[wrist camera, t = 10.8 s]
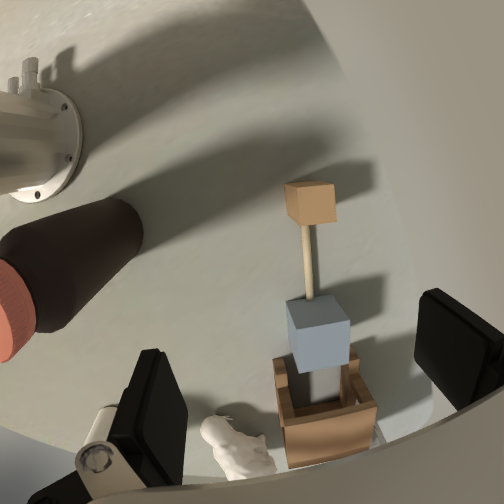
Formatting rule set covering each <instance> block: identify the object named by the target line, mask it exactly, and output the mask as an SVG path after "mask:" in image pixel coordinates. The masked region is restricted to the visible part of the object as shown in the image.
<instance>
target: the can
mask: <svg viewBox="0 0 504 504" xmlns="http://www.w3.org/2000/svg"><path fill="white" fill-rule="evenodd" d="M117 408H118V407H105V408H103V409H101V410H100V411H99V413H98V415H97V417H96V419H95V421H94V423H93V425H92V428H91V430H90V432H89V434H88V436H87V439H86V441H85V443H84V446H85V445H87V444H89V443H91V442H94V441H106V440H107V437H108V434H109V431H110V428H111V425H112V422H113V419H114V416H115V413H116V411H117ZM84 446H83V447H84ZM76 470H77V469H76Z"/></svg>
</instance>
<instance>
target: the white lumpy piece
mask: <svg viewBox="0 0 504 504" xmlns="http://www.w3.org/2000/svg"><path fill="white" fill-rule="evenodd" d="M227 417H230V416H217V415H213V416H211V417H207V418H206V419H205V420H204V421H203V422H202V425H201V428H200V432H201V435H202V437H203V438H204V439H205V440H206V441H207V442H208V443H209V444H210V445H212V446H213V453H214V457H215V459H216V460H217V461H218V462H219V464H220V466H221V467H222V469H223V470H224V471H225V474H226V477H227V479H228V481H233V480H241V479H248V478H255V477H261V476H267V475H273V474H275V472H276V471H277V468H276V465H275V462H274V459H273V458H272V457H271V456H270V455H268V451H267V448H266V444H265V440H266V438H265V436H264V435H263V434H261V435H259V436H258V437H257V438H256V437H252V436H247V435H245V434H243V433H241V432H236V431H235V430H234V429H232V428H231V427H230V425H229V424H228V422H227V420H228V421H229V419H230V418H227ZM230 420H233V419H230Z"/></svg>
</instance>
